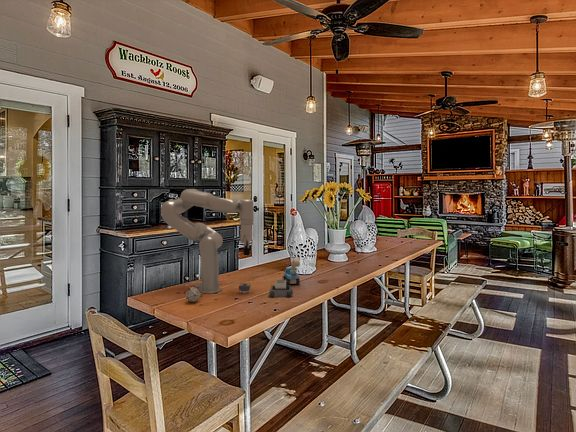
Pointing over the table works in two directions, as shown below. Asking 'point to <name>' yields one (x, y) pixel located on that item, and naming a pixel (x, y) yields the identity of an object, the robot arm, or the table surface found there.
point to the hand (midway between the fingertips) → (246, 255)
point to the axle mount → (244, 291)
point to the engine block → (280, 284)
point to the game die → (193, 294)
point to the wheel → (244, 286)
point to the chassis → (280, 292)
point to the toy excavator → (292, 273)
